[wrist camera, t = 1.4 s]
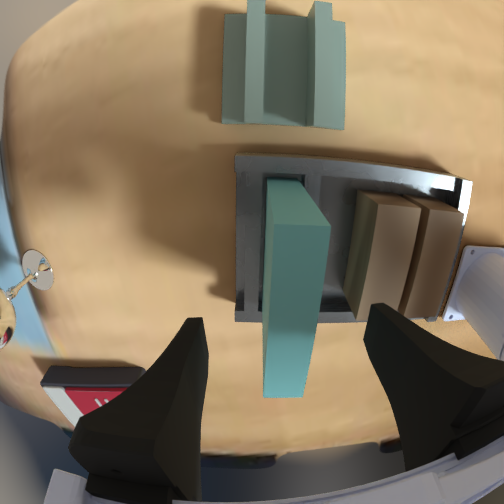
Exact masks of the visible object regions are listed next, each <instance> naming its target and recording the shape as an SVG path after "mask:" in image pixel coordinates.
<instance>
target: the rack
mask: <svg viewBox="0 0 504 504" xmlns="http://www.w3.org/2000/svg"><path fill="white" fill-rule="evenodd" d="M235 172H236V304H235V322H261V323H262V287H263V264H264V239H265V213H266V185H267V177H286V178H297V179H298V180H299V181H300V183H301V184H302V186H303V187H304V188H305V190H306V191H307V192H308V194H309V195H310V197H311V198H312V199H313V201H314V202H315V204H316V205H317V206H318V208H319V209H320V211H321V212H322V214H323V215H324V217H325V218H326V219H327V221H328V222H329V224H330V225H331V232H330V240H329V248H328V256H327V263H326V271H325V278H324V284H323V291H322V297H321V304H320V310H319V316H318V322H317V323H347V322H367V321H368V320H364V321H356V320H355V317H354V315H353V313H352V310H351V308H350V306H349V304H348V301H347V299H346V297H345V295H344V293H343V286H344V281H345V275H346V269H347V263H348V257H349V251H350V244H351V237H352V230H353V223H354V215H355V207H356V199H357V189H358V190H370V191H380V192H390V193H396V194H398V195H400V196H401V197H403V194H408V195H416V196H424V197H432V198H436V199H438V200H440V201H442V202H444V203H446V204H448V205H450V206H452V207H454V208H455V209H457V210H459V211H461V212H463V213H464V218H463V223H462V228H461V232H460V236H459V241H458V245H457V249H456V252H455V256H454V260H453V264H452V267H451V271H450V274H449V277H448V281H447V284H446V287H445V290H444V293H443V296H442V299H441V302H440V305H439V308H438V310H437V313H436V316H435V317H422V318H408V319H409V320H413V319H425V320H426V321H427V322H433V321H436V320H437V317H438V314H439V312H440V309H441V306H442V303H443V300H444V297H445V294H446V291H447V288H448V285H449V282H450V279H451V276H452V272H453V269H454V265H455V262H456V258H457V255H458V251H459V247H460V243H461V239H462V235H463V230H464V226H465V221H466V216H467V211H468V206H469V200H470V194H471V188H472V181H470V180H467V179H464V178H461V177H459V176H456V175H453V174H450V173H444V172H439V171H434V170H428V169H422V168H416V167H410V166H403V165H397V164H389V163H382V162H374V161H366V160H357V159H347V158H337V157H325V156H312V155H297V154H277V153H241V152H238V153H237V154H236V155H235ZM397 312H398V310H397Z"/></svg>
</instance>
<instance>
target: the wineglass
mask: <svg viewBox="0 0 504 504" xmlns="http://www.w3.org/2000/svg"><path fill="white" fill-rule="evenodd" d="M22 266H23V270H24V273H25V275H26V278H25V279H23V280H22V281H21V282H20V283H18V284H17V285H15V286H12V287H10V288H8V290H7V291H6V292H5V291H4V290H3V289H2V288H1V287H0V351H1V350H2V349H3V348H4V347H5V346H6V345H7V344H8V343H9V341H10V340H11V338H12V336H13V334H14V332H15V329H16V312H15V309H14V306H13V304H12V301H11V300H12V299H13V298H15V297H16V295H17V293H18V291H19V290H20V289H21V288H22V286H23V285H25V284H26V283H27V282H28V281H29V282H30V283H31V284H32V285H33V286H34V287H36V288H38V289H40V290H48V289H50V288H51V287H52V285H53V282H54V274H53V270H52V267H51V265H50V263H49V262H48V260H47V259H46V258H45V256H44V255H42V254H41V253H40V252H38V251H36V250H29V251H27V252H26V253H25V254H24V256H23V259H22Z"/></svg>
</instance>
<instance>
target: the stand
mask: <svg viewBox="0 0 504 504" xmlns="http://www.w3.org/2000/svg"><path fill="white" fill-rule="evenodd" d="M345 90H346V37H345V22H340V21H334V20H332V3H327V2H320V1H314V3H313V6H312V8H311V10H310V12H309V14H308V16H307V17H303V16H291V15H276V14H265V0H247V14H225V21H224V46H223V78H222V124H266V125H288V126H303V127H316V128H327V129H337V130H344V120H345Z"/></svg>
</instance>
